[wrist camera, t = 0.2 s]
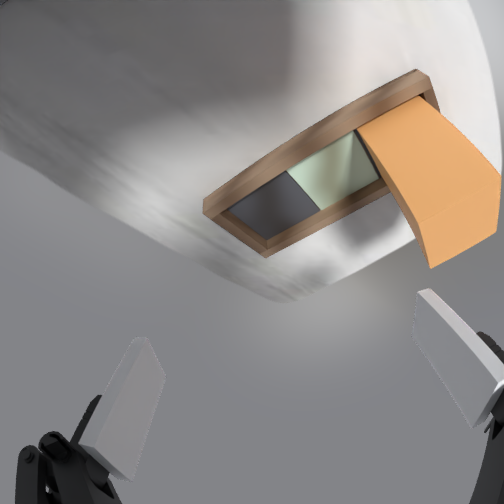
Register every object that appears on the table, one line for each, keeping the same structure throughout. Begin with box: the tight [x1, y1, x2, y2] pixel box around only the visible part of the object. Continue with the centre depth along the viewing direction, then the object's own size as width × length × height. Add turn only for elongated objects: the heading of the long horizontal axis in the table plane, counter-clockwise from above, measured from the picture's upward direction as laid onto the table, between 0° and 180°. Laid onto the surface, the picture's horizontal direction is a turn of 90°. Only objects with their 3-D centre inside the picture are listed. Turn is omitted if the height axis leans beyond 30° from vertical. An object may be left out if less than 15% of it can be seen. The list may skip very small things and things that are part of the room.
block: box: [356, 95, 501, 269], centre depth 16 cm, size 6×6×10 cm
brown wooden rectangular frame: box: [203, 69, 440, 258], centre depth 22 cm, size 22×9×2 cm, turn 129°
